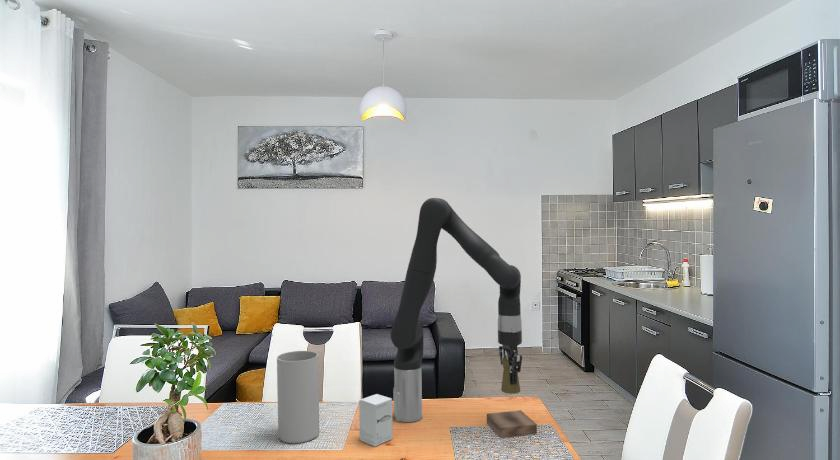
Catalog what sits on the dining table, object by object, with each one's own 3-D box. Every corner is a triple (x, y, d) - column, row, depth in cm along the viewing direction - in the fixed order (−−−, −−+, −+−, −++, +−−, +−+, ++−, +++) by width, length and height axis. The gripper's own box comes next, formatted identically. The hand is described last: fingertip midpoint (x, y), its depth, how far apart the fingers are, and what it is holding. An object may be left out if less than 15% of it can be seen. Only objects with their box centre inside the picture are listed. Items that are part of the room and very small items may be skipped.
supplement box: (375, 447, 150) (374, 404, 150) (358, 440, 155) (358, 399, 155) (393, 439, 155) (392, 398, 155) (377, 432, 161) (376, 392, 160)
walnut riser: (500, 437, 156) (500, 428, 155) (486, 422, 167) (486, 413, 167) (536, 433, 158) (536, 424, 158) (520, 419, 170) (520, 410, 170)
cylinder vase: (327, 431, 162) (326, 353, 162) (302, 447, 151) (301, 363, 150) (295, 425, 167) (294, 349, 167) (269, 440, 156) (268, 358, 156)
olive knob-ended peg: (520, 394, 159) (519, 358, 159) (500, 393, 160) (500, 358, 160) (520, 387, 165) (519, 353, 165) (501, 387, 166) (501, 353, 166)
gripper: (490, 324, 168) (491, 376, 169) (507, 334, 154) (508, 390, 155) (511, 323, 170) (512, 374, 170) (530, 332, 156) (531, 388, 156)
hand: (510, 381), depth 162 cm, fingers closed on olive knob-ended peg, 4 cm apart
